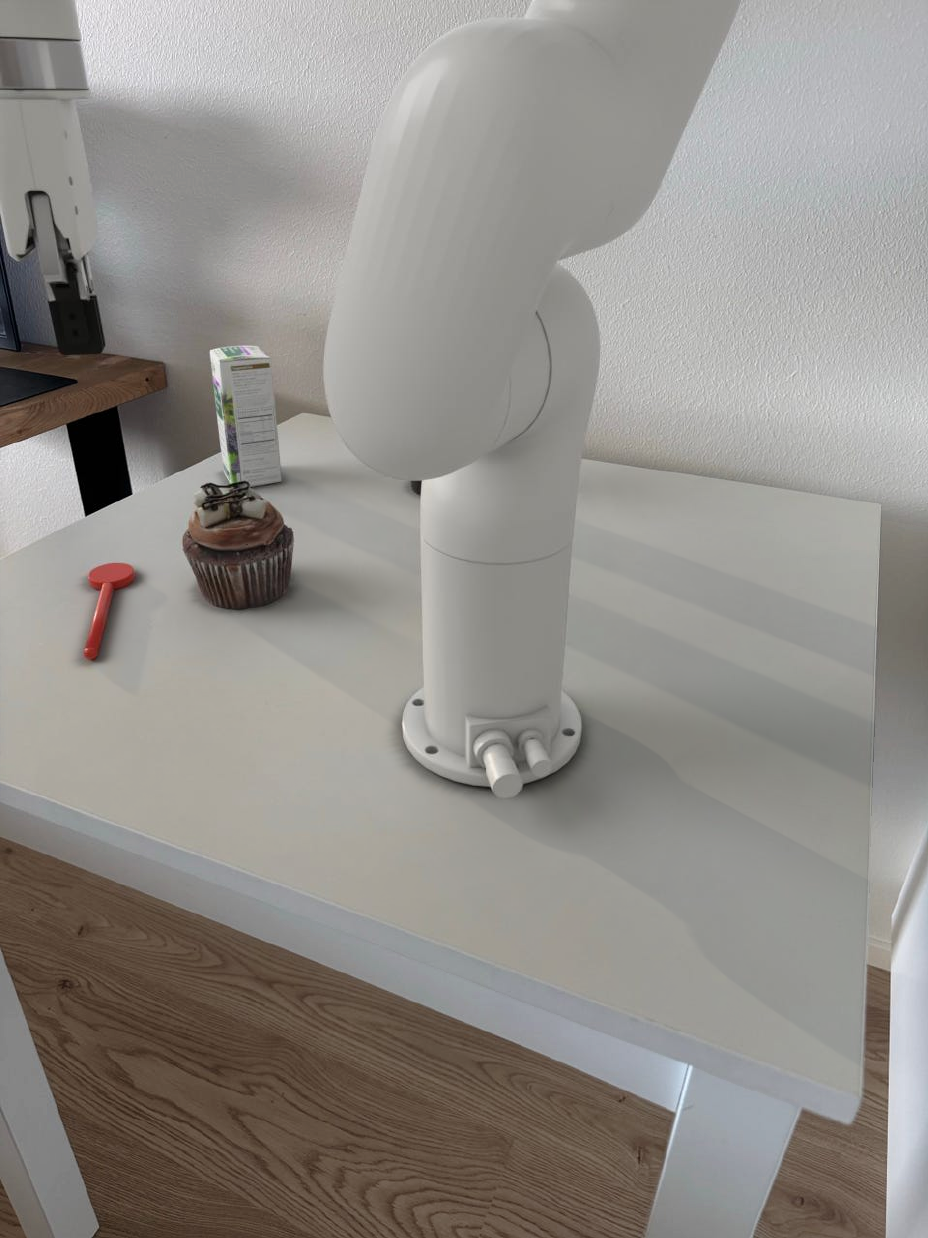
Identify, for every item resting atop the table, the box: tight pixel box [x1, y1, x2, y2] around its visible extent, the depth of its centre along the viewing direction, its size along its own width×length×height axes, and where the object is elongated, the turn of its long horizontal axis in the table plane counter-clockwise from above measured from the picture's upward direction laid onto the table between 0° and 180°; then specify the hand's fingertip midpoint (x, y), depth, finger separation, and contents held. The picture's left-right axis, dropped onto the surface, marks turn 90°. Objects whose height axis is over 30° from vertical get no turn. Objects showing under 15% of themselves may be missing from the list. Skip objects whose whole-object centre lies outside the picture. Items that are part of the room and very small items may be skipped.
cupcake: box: [181, 481, 295, 610], centre depth 80 cm, size 10×10×10 cm
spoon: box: [83, 562, 136, 660], centre depth 78 cm, size 16×4×1 cm, turn 12°
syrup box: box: [209, 345, 283, 488], centre depth 101 cm, size 6×6×14 cm
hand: (83, 351), depth 70 cm, fingers closed
